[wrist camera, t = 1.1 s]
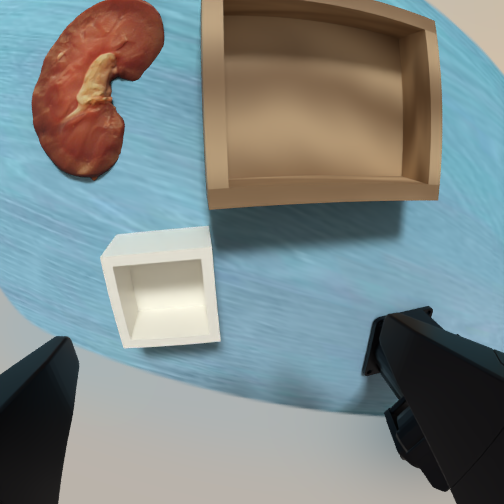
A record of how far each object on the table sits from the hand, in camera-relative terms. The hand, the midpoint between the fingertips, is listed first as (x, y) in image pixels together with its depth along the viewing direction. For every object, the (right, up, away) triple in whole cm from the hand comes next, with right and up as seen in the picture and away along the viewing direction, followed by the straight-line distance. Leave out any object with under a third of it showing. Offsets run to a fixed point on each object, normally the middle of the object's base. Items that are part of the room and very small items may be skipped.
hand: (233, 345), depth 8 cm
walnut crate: (+4, +12, +10) cm, 16 cm away
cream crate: (-5, +1, +12) cm, 13 cm away
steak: (-9, +13, +7) cm, 18 cm away
